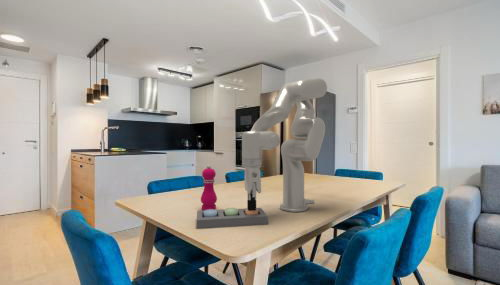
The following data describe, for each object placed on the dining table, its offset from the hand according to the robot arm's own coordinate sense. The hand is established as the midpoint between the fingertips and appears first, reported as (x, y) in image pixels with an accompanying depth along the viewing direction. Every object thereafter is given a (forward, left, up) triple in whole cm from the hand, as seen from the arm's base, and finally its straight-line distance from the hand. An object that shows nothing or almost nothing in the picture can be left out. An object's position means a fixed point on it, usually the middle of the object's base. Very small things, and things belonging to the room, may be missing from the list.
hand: (251, 209), depth 100 cm
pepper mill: (+16, -19, -4) cm, 25 cm away
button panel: (+8, 0, -4) cm, 9 cm away
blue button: (+16, 0, -3) cm, 16 cm away
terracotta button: (0, 0, -3) cm, 3 cm away
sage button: (+8, 0, -3) cm, 8 cm away
